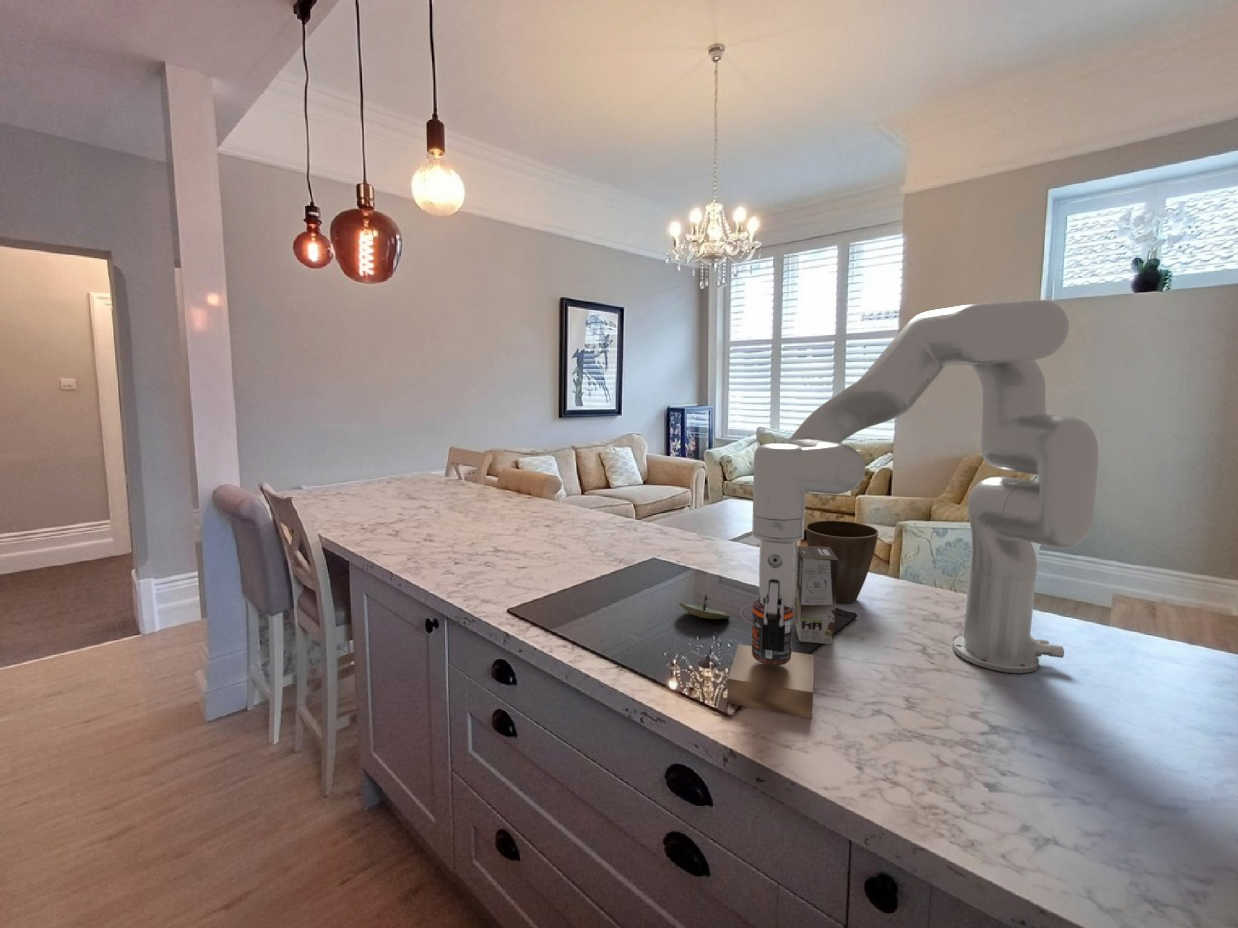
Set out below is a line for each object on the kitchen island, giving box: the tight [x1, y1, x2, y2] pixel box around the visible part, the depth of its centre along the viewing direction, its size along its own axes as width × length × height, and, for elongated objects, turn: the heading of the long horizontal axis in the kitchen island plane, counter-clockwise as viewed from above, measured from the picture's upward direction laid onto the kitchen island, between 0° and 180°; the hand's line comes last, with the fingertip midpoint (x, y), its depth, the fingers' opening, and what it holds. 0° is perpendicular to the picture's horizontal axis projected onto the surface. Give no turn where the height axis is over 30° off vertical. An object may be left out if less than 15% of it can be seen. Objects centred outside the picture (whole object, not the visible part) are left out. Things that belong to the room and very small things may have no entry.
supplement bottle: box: [751, 592, 794, 665], centre depth 88 cm, size 6×6×11 cm
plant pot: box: [805, 520, 879, 605], centre depth 127 cm, size 15×15×16 cm
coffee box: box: [794, 545, 838, 645], centre depth 109 cm, size 9×6×16 cm
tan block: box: [726, 644, 814, 719], centre depth 89 cm, size 12×12×4 cm
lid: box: [679, 594, 731, 620], centre depth 116 cm, size 11×10×5 cm
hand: (774, 639), depth 88 cm, fingers closed on supplement bottle, 5 cm apart
